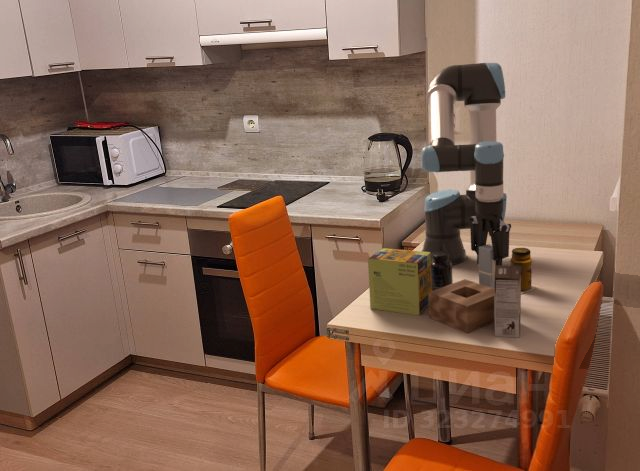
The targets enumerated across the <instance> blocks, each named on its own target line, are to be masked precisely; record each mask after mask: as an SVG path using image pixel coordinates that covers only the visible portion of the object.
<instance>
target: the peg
mask: <svg viewBox="0 0 640 471" xmlns="http://www.w3.org/2000/svg"><path fill="white" fill-rule="evenodd" d="M493 258H494V252H493V246H492V243H486V245H483V246H480V247H479V264H478V284H481V285H484V286H488V287H491V288H494V281H492V259H493Z"/></svg>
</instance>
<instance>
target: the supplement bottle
mask: <svg viewBox="0 0 640 471" xmlns="http://www.w3.org/2000/svg"><path fill="white" fill-rule="evenodd" d="M448 259H449V257H448V253H447V252H445V251H436V252H433V253H432V260H433V261H432V262H431V284H432V291H434V290H436V289H439V288H442V287H445V286H447V285H450V284H453V283H454V282H453V280H454V279H453V264H451V262H450V261H448Z"/></svg>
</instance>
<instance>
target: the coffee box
mask: <svg viewBox="0 0 640 471" xmlns="http://www.w3.org/2000/svg"><path fill="white" fill-rule="evenodd" d="M494 278H495V280H494V306H495V322H494V337H503V338H520V337H521V317H522V316H521V305H522V304H521V303H522V302H521V299H522V298H521V296H522V294H521V268H520V266H510V265H504V264H502V265H497V266H495V277H494Z"/></svg>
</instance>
